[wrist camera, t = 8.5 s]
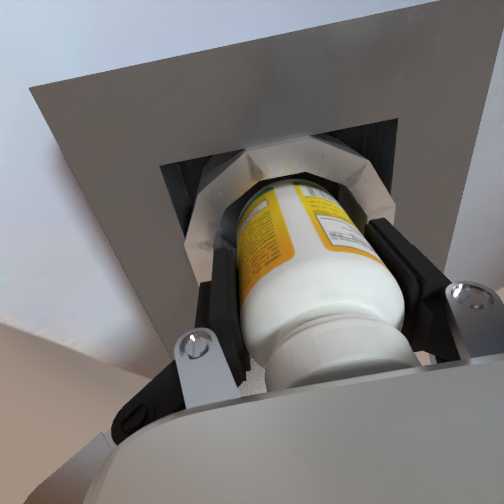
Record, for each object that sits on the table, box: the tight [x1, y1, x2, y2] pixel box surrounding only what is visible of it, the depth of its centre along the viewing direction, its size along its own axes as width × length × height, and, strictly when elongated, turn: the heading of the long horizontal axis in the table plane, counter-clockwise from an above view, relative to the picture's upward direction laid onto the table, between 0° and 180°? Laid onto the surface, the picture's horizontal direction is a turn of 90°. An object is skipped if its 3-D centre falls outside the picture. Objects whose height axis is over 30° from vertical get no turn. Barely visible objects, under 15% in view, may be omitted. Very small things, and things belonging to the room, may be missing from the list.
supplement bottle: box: [237, 179, 422, 392], centre depth 11 cm, size 5×5×10 cm
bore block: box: [29, 0, 504, 361], centre depth 15 cm, size 16×16×4 cm
